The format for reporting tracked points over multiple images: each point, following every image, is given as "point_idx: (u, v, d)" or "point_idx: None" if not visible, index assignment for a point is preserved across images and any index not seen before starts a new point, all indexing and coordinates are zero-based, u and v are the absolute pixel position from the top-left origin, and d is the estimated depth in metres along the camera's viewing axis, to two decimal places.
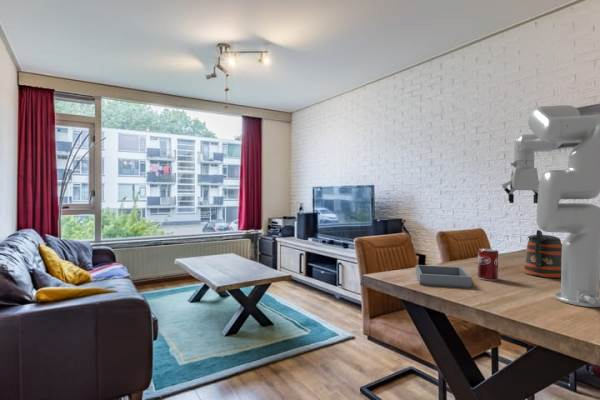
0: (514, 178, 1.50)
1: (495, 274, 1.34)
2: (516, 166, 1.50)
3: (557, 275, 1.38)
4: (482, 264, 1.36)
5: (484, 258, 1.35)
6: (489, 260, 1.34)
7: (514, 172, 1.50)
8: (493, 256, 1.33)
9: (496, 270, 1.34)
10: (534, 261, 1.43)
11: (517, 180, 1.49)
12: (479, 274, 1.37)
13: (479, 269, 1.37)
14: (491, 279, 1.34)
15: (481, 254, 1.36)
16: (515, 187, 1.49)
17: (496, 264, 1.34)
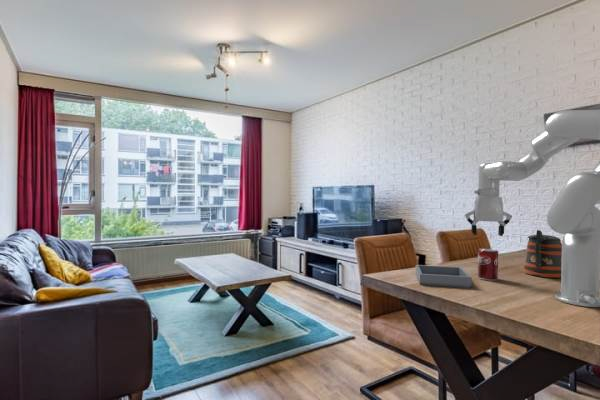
0: (477, 208, 1.36)
1: (495, 274, 1.34)
2: (480, 195, 1.36)
3: (557, 275, 1.38)
4: (482, 264, 1.36)
5: (484, 258, 1.35)
6: (489, 260, 1.34)
7: (477, 201, 1.36)
8: (493, 256, 1.33)
9: (496, 270, 1.34)
10: (534, 261, 1.43)
11: (480, 210, 1.35)
12: (479, 274, 1.37)
13: (479, 269, 1.37)
14: (491, 279, 1.34)
15: (481, 254, 1.36)
16: (478, 218, 1.36)
17: (496, 264, 1.34)
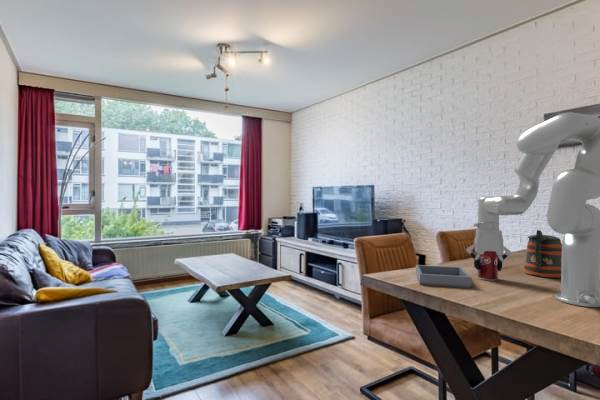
0: (477, 241, 1.36)
1: (495, 274, 1.34)
2: (479, 228, 1.37)
3: (557, 275, 1.38)
4: (482, 264, 1.36)
5: (484, 258, 1.35)
6: (489, 260, 1.34)
7: (477, 235, 1.36)
8: (493, 256, 1.34)
9: (496, 270, 1.34)
10: (534, 261, 1.43)
11: (480, 243, 1.35)
12: (479, 274, 1.37)
13: (479, 269, 1.37)
14: (491, 279, 1.34)
15: None
16: (478, 251, 1.36)
17: (496, 264, 1.34)
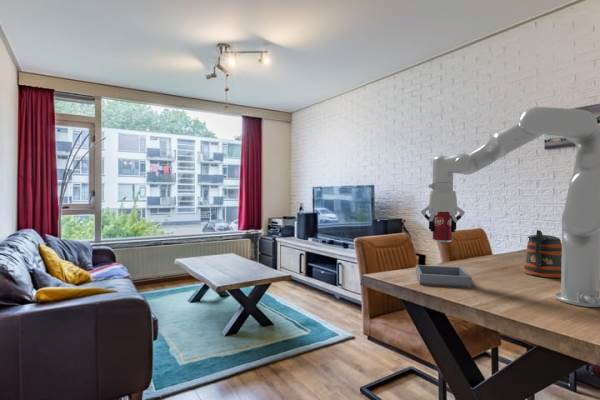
0: (431, 202, 1.33)
1: (449, 235, 1.31)
2: (433, 188, 1.33)
3: (557, 275, 1.38)
4: (435, 225, 1.32)
5: (438, 219, 1.31)
6: (442, 221, 1.30)
7: (431, 195, 1.33)
8: (446, 216, 1.30)
9: (449, 231, 1.31)
10: (534, 261, 1.43)
11: (434, 204, 1.32)
12: (433, 235, 1.33)
13: (433, 231, 1.34)
14: (444, 240, 1.30)
15: None
16: (432, 212, 1.32)
17: (449, 225, 1.31)
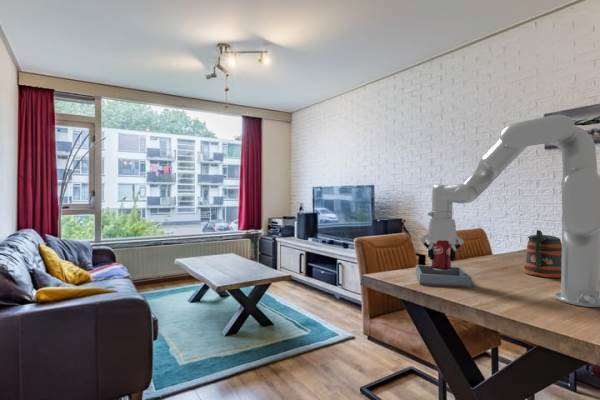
0: (430, 231, 1.33)
1: (448, 264, 1.31)
2: (433, 217, 1.33)
3: (557, 275, 1.38)
4: (435, 253, 1.32)
5: (437, 248, 1.32)
6: (441, 250, 1.31)
7: (430, 224, 1.33)
8: (445, 245, 1.30)
9: (449, 260, 1.31)
10: (534, 261, 1.43)
11: (433, 233, 1.32)
12: (432, 264, 1.34)
13: (432, 259, 1.34)
14: (443, 269, 1.31)
15: None
16: (431, 241, 1.32)
17: (449, 254, 1.31)
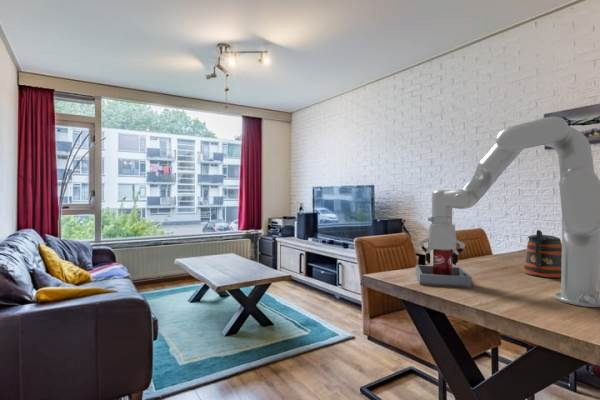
0: (430, 236, 1.33)
1: (449, 273, 1.31)
2: (433, 222, 1.33)
3: (557, 275, 1.38)
4: (436, 263, 1.32)
5: (438, 258, 1.31)
6: (443, 259, 1.30)
7: (430, 229, 1.33)
8: (447, 255, 1.30)
9: (450, 269, 1.31)
10: (534, 261, 1.43)
11: (433, 238, 1.32)
12: (434, 273, 1.33)
13: (433, 268, 1.34)
14: None
15: (435, 253, 1.33)
16: (431, 246, 1.32)
17: (450, 263, 1.31)
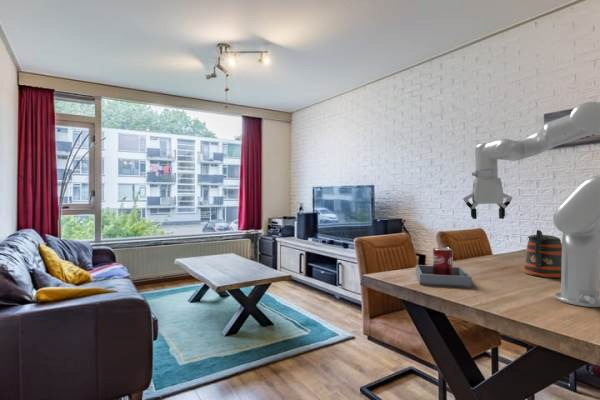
0: (476, 190, 1.30)
1: (449, 273, 1.31)
2: (478, 176, 1.30)
3: (557, 275, 1.38)
4: (436, 263, 1.32)
5: (438, 258, 1.31)
6: (443, 259, 1.30)
7: (476, 183, 1.30)
8: (447, 255, 1.30)
9: (450, 269, 1.31)
10: (534, 261, 1.43)
11: (479, 192, 1.29)
12: (434, 273, 1.33)
13: (433, 268, 1.34)
14: None
15: (435, 253, 1.33)
16: (477, 201, 1.29)
17: (450, 263, 1.31)
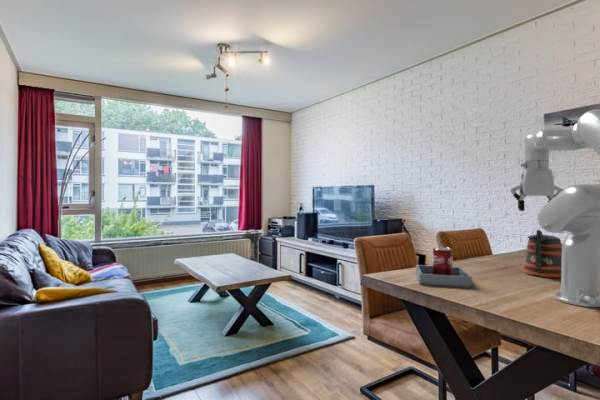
0: (525, 182, 1.27)
1: (449, 273, 1.31)
2: (527, 167, 1.28)
3: (557, 275, 1.38)
4: (436, 263, 1.32)
5: (438, 258, 1.31)
6: (443, 259, 1.30)
7: (525, 174, 1.27)
8: (447, 255, 1.30)
9: (450, 269, 1.31)
10: (534, 261, 1.43)
11: (529, 183, 1.26)
12: (434, 273, 1.33)
13: (433, 268, 1.34)
14: None
15: (435, 253, 1.33)
16: (526, 192, 1.27)
17: (450, 263, 1.31)
